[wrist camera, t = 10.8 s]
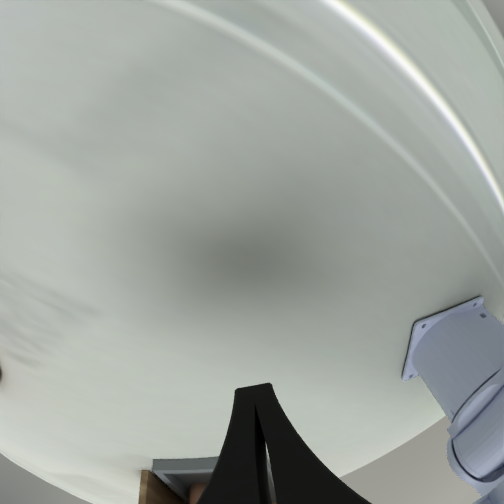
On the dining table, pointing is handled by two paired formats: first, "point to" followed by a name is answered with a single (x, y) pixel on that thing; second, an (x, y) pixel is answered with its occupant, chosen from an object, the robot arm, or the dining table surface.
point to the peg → (196, 492)
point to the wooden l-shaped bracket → (157, 491)
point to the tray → (191, 474)
